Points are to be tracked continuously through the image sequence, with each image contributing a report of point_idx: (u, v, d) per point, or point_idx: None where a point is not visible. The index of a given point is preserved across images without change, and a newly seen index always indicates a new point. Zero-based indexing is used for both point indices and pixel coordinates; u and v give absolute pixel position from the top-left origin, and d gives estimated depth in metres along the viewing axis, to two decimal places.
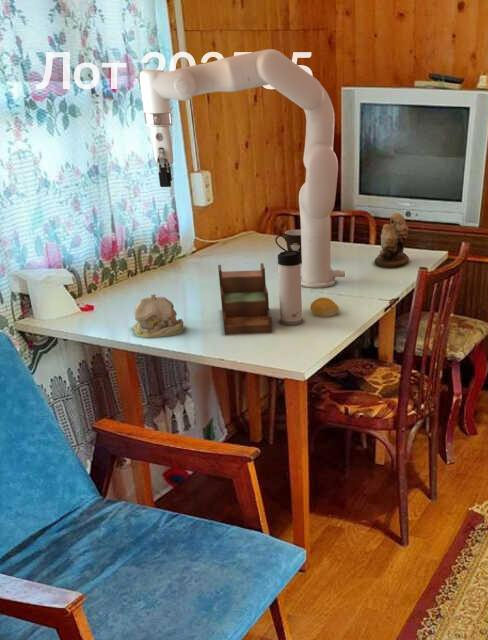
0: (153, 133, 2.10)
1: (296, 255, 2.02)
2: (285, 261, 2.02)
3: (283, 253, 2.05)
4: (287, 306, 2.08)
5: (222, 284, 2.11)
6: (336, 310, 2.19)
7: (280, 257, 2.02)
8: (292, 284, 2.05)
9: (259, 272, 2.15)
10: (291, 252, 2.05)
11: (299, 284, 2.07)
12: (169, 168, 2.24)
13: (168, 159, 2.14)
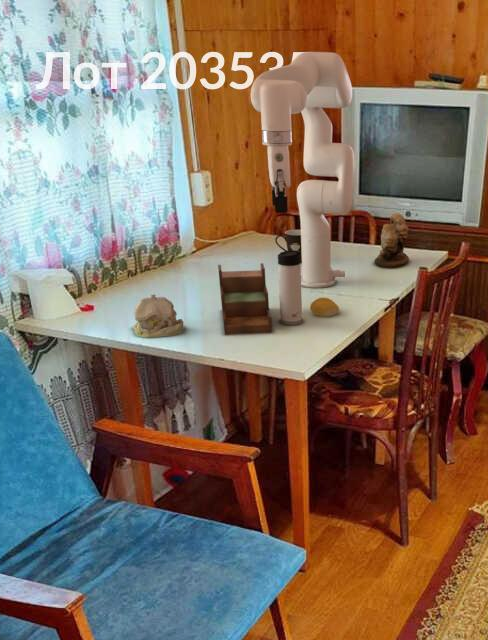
0: (272, 153, 1.87)
1: (296, 255, 2.02)
2: (285, 261, 2.02)
3: (283, 253, 2.05)
4: (287, 306, 2.08)
5: (222, 284, 2.11)
6: (336, 310, 2.19)
7: (280, 257, 2.02)
8: (292, 284, 2.05)
9: (259, 272, 2.15)
10: (291, 252, 2.05)
11: (299, 284, 2.07)
12: None
13: (286, 182, 1.91)
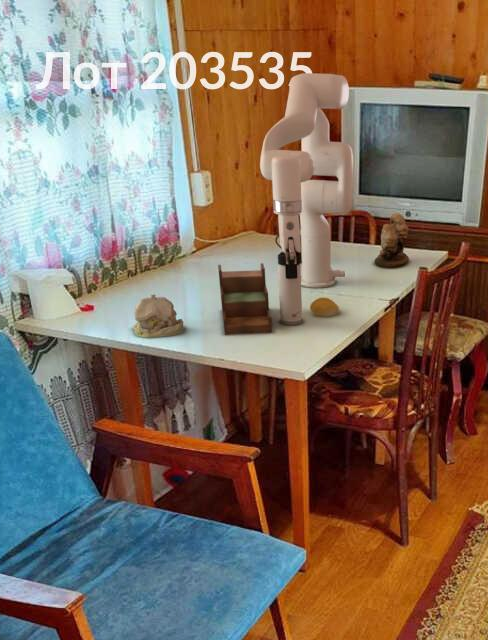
0: (283, 222, 1.94)
1: (296, 255, 2.02)
2: (285, 261, 2.02)
3: (283, 253, 2.04)
4: (287, 306, 2.08)
5: (222, 284, 2.11)
6: (336, 310, 2.19)
7: (280, 257, 2.02)
8: (292, 284, 2.05)
9: (259, 272, 2.15)
10: None
11: (299, 284, 2.07)
12: None
13: (297, 248, 1.98)
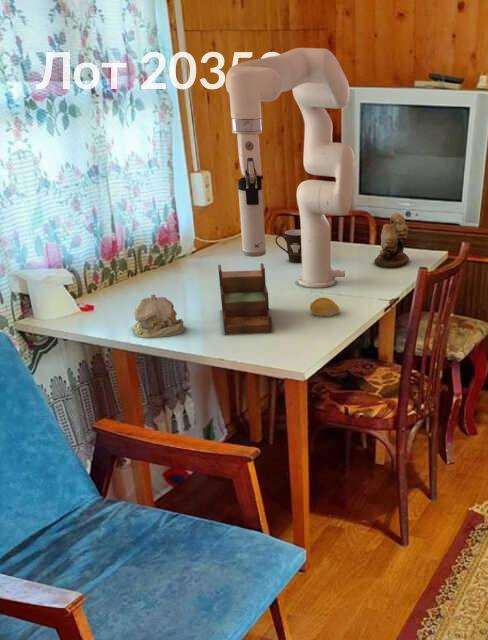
0: (241, 141, 1.84)
1: (257, 179, 1.91)
2: (245, 186, 1.91)
3: (244, 178, 1.94)
4: (249, 236, 1.98)
5: (222, 284, 2.11)
6: (336, 310, 2.19)
7: (240, 182, 1.91)
8: (254, 211, 1.95)
9: (259, 272, 2.15)
10: None
11: (261, 212, 1.96)
12: None
13: (257, 171, 1.88)
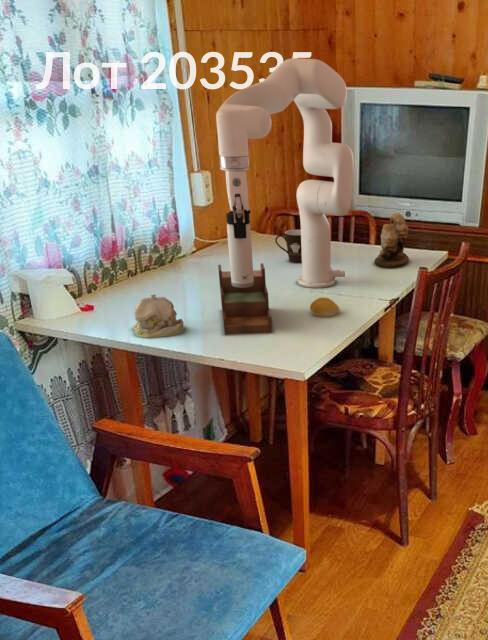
0: (229, 178, 1.89)
1: (245, 214, 1.96)
2: (233, 220, 1.96)
3: (232, 212, 1.99)
4: (237, 268, 2.03)
5: (222, 284, 2.11)
6: (336, 310, 2.19)
7: (228, 216, 1.96)
8: (242, 245, 2.00)
9: (259, 272, 2.15)
10: None
11: (249, 245, 2.01)
12: None
13: (245, 206, 1.93)
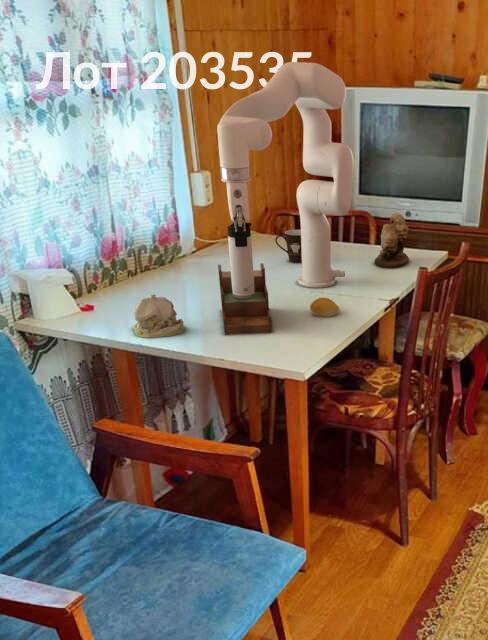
0: (230, 189, 1.90)
1: (246, 227, 1.98)
2: None
3: (233, 225, 2.01)
4: (238, 280, 2.05)
5: (222, 284, 2.11)
6: (336, 310, 2.19)
7: (229, 229, 1.98)
8: (243, 257, 2.01)
9: (259, 272, 2.15)
10: None
11: (250, 257, 2.03)
12: None
13: (245, 217, 1.94)
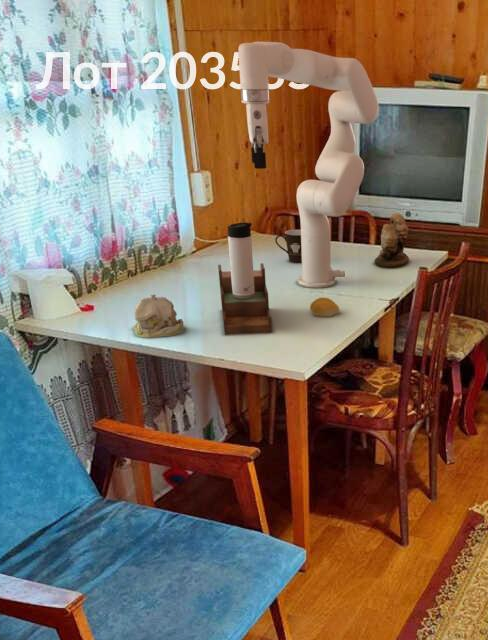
0: (250, 110, 1.98)
1: (246, 227, 1.98)
2: (234, 233, 1.98)
3: (233, 225, 2.01)
4: (238, 280, 2.05)
5: (222, 284, 2.11)
6: (336, 310, 2.19)
7: (229, 229, 1.98)
8: (243, 257, 2.01)
9: (259, 272, 2.15)
10: (241, 224, 2.01)
11: (250, 257, 2.03)
12: None
13: (265, 139, 2.02)
